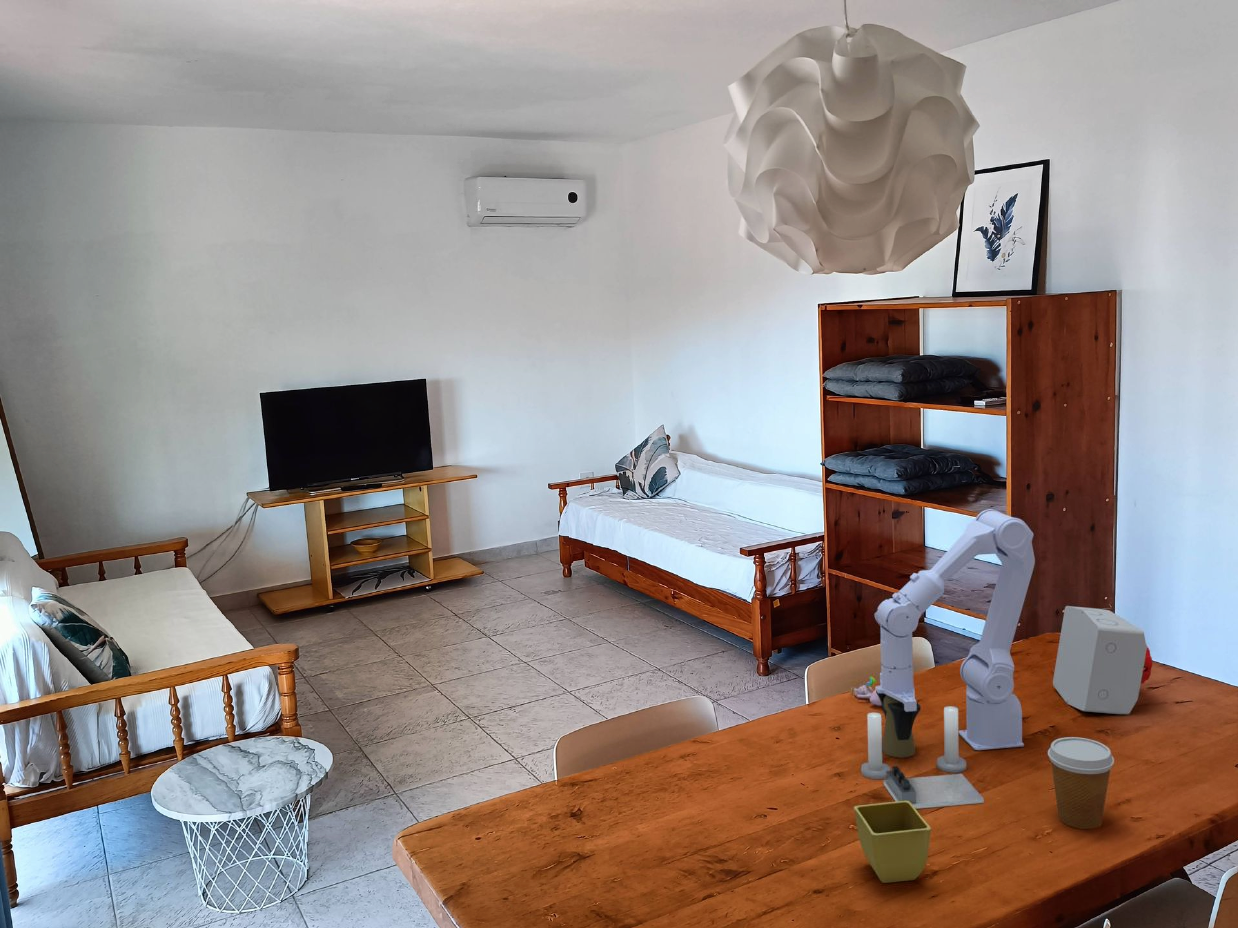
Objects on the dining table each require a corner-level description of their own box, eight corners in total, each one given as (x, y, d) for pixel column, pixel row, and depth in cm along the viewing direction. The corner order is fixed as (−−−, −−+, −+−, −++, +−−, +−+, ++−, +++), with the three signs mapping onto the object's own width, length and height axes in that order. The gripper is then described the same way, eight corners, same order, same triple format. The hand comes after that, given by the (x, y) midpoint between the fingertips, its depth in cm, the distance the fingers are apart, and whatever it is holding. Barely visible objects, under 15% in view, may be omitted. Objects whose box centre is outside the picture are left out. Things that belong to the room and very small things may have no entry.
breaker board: (961, 777, 171) (961, 756, 171) (983, 802, 163) (983, 780, 162) (883, 784, 171) (883, 763, 170) (901, 809, 162) (901, 787, 161)
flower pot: (854, 859, 148) (852, 804, 147) (909, 853, 149) (908, 798, 148) (874, 893, 140) (872, 834, 138) (933, 886, 140) (932, 828, 139)
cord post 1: (884, 765, 178) (883, 708, 176) (893, 778, 173) (892, 719, 171) (857, 767, 178) (856, 710, 176) (866, 780, 173) (864, 721, 171)
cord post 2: (959, 759, 178) (959, 702, 177) (970, 771, 174) (970, 713, 172) (932, 761, 178) (932, 704, 177) (943, 773, 173) (942, 715, 172)
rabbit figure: (845, 702, 211) (890, 715, 197) (841, 675, 211) (886, 686, 197) (868, 696, 213) (915, 708, 199) (865, 669, 213) (911, 679, 199)
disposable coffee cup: (1086, 841, 149) (1087, 767, 148) (1034, 814, 158) (1034, 745, 156) (1126, 823, 154) (1127, 751, 152) (1073, 798, 162) (1074, 730, 160)
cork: (911, 743, 186) (911, 688, 184) (918, 757, 180) (917, 700, 179) (879, 743, 187) (878, 688, 185) (884, 757, 181) (883, 701, 179)
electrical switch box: (1157, 724, 193) (1175, 627, 190) (1083, 717, 193) (1099, 620, 190) (1121, 696, 207) (1136, 605, 204) (1051, 689, 207) (1066, 599, 204)
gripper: (863, 652, 188) (865, 718, 190) (888, 679, 174) (890, 751, 176) (899, 649, 188) (900, 715, 190) (927, 676, 174) (928, 747, 176)
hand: (898, 732), depth 183 cm, fingers closed on cork, 5 cm apart
